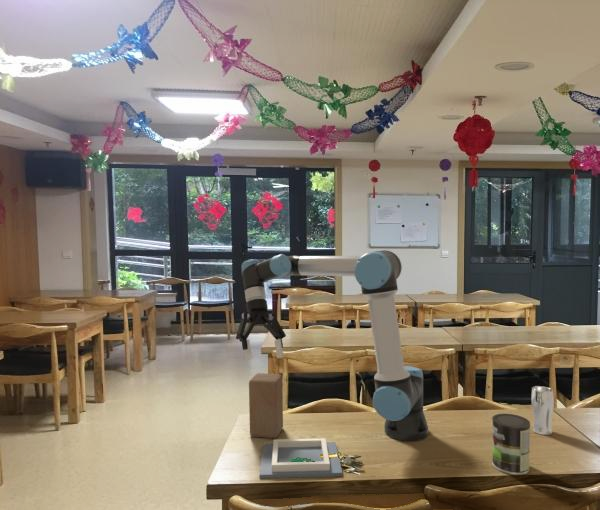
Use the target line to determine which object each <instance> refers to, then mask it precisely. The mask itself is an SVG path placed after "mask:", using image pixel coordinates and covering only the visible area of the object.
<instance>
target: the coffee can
mask: <svg viewBox="0 0 600 510" xmlns="http://www.w3.org/2000/svg"><path fill="white" fill-rule="evenodd" d="M491 419H492V457H491V458H492V462H491V464H492V466H493V467H494V468H495V469H497V470H498V471H500V472H502V473H505V474H508V475H514V476H523V475H526V474H527V473H529V472H530V445H531V444H530V441H531V440H530V438H531V437H530V433H531V432H530V431H531V422H530V421H529V419H527V418H526V417H524V416H521V415H519V414H518V415H517V414H513V413H498V414H495V415H493V416H492V417H491Z"/></svg>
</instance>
